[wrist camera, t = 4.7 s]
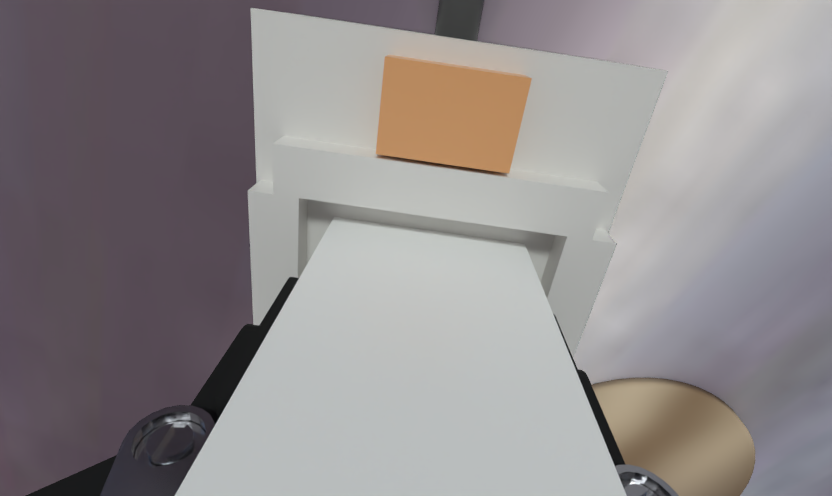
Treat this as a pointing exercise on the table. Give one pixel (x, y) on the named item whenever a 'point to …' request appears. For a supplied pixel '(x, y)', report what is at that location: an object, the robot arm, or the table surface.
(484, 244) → the block
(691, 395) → the coaster
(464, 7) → the power strip
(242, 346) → the robot arm
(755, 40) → the table surface
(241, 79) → the table surface
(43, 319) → the table surface
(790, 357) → the table surface
